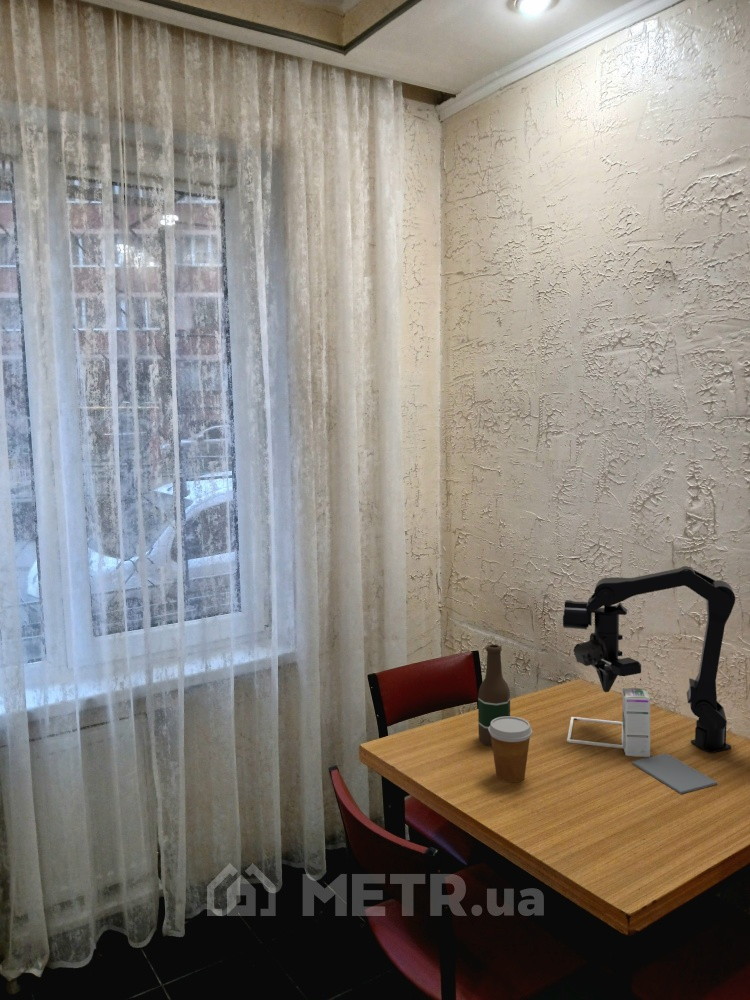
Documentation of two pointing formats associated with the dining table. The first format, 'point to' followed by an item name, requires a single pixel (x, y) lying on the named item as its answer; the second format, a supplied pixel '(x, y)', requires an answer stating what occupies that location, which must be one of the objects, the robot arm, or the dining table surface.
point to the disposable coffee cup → (510, 747)
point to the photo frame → (594, 742)
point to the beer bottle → (492, 694)
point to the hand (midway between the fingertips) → (606, 691)
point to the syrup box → (636, 722)
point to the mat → (674, 773)
